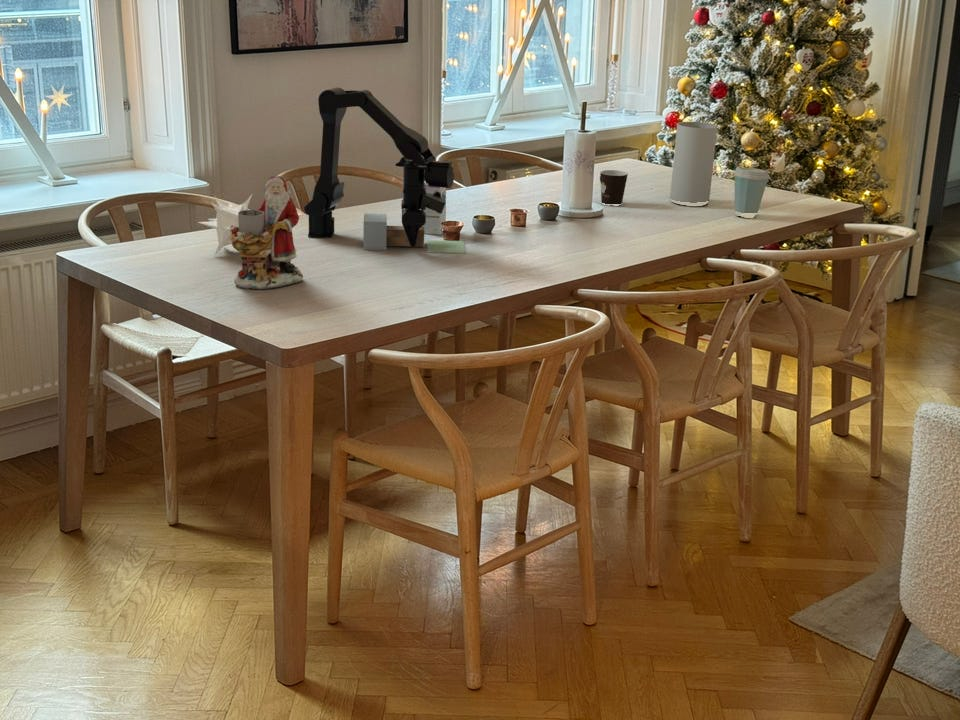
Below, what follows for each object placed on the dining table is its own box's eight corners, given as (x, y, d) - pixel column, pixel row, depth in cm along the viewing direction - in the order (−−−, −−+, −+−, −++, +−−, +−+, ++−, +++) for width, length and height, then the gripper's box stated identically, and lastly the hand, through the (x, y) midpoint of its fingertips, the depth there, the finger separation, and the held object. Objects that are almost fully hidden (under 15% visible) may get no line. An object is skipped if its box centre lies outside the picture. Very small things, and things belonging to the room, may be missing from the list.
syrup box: (440, 235, 328) (442, 183, 322) (420, 233, 329) (421, 182, 324) (445, 230, 333) (447, 179, 328) (425, 228, 334) (426, 178, 329)
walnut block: (363, 245, 312) (363, 228, 311) (363, 241, 316) (364, 225, 314) (423, 246, 313) (424, 230, 312) (423, 242, 317) (424, 226, 316)
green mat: (428, 252, 310) (428, 251, 310) (426, 240, 321) (426, 240, 321) (466, 253, 311) (466, 252, 311) (463, 241, 322) (463, 240, 322)
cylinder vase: (665, 198, 384) (672, 121, 376) (702, 198, 386) (710, 122, 377) (675, 207, 373) (683, 127, 364) (713, 207, 374) (722, 128, 366)
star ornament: (186, 250, 304) (184, 194, 299) (230, 242, 314) (228, 188, 310) (238, 263, 292) (236, 206, 287) (281, 254, 303) (280, 198, 298)
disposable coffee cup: (732, 210, 371) (737, 163, 366) (766, 215, 368) (772, 167, 362) (726, 217, 362) (731, 169, 356) (761, 222, 358) (767, 173, 353)
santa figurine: (238, 293, 271) (235, 186, 262) (226, 276, 283) (222, 174, 274) (309, 287, 277) (308, 183, 268) (294, 271, 289) (292, 171, 280)
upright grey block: (363, 249, 310) (363, 221, 307) (364, 240, 318) (364, 213, 316) (386, 250, 311) (386, 222, 308) (386, 241, 319) (386, 213, 316)
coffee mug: (626, 207, 369) (629, 176, 366) (599, 206, 369) (601, 175, 366) (622, 199, 380) (625, 168, 376) (596, 198, 380) (598, 167, 376)
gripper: (445, 192, 301) (444, 251, 307) (443, 177, 319) (441, 233, 324) (402, 191, 300) (401, 250, 306) (401, 176, 318) (400, 232, 323)
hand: (412, 241), depth 315 cm, fingers open, 9 cm apart
